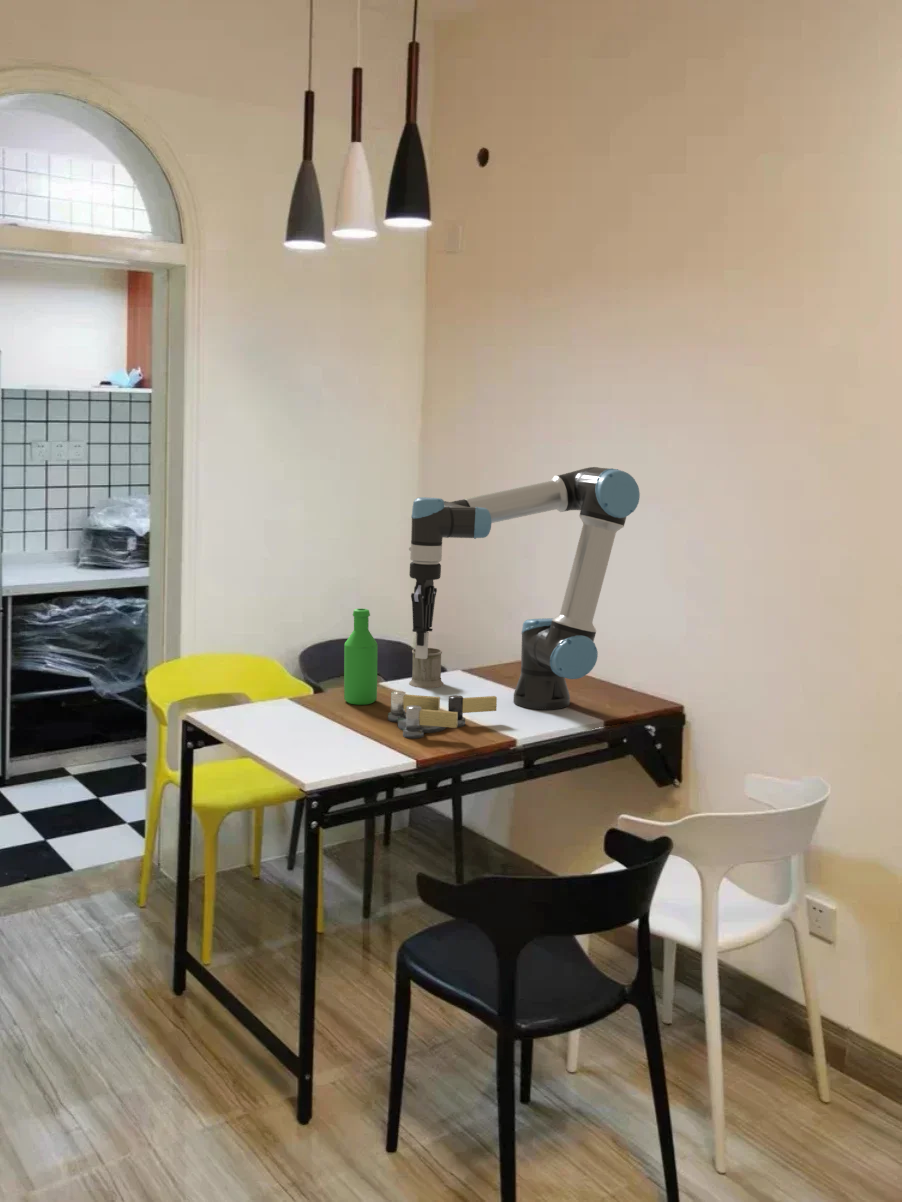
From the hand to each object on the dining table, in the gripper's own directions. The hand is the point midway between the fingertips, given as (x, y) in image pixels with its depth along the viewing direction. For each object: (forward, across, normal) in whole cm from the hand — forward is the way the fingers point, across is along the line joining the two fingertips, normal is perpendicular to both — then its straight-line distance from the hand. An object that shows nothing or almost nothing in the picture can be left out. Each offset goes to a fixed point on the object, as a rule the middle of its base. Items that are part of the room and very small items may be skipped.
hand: (421, 657), depth 276 cm
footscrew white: (+16, -5, -3) cm, 17 cm away
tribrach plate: (+17, +1, +1) cm, 17 cm away
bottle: (+18, -18, -22) cm, 34 cm away
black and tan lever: (+16, -8, +11) cm, 21 cm away
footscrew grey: (+16, +7, +6) cm, 18 cm away
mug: (+17, -42, -12) cm, 47 cm away
